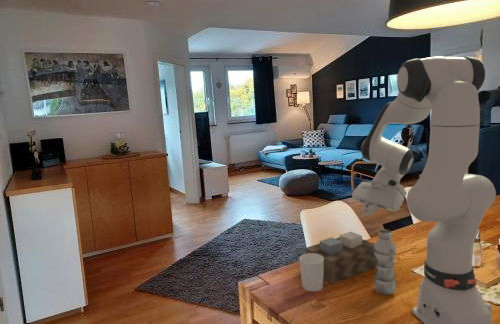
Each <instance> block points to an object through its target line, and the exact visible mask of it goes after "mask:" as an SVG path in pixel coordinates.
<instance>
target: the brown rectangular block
mask: <svg viewBox="0 0 500 324" xmlns="http://www.w3.org/2000/svg"><path fill="white" fill-rule="evenodd" d="M335 239H337V240H339V241H340V236H339V237H335ZM374 244H375V243H374V242H371V241H368V240H366V239H363V238H362V245H360V246H357V247H354V248H351V249H350V248H348V247H346V246H344V245H343V252H340V253H337V254H334V255H329V254H327V253H325V252H323V251H321V250H320V243H317V244H313V245H310V246H307V247H305V254H308V253H314V254H319V255H321V256H323V257H324V274H323V280H325V281H326V282H328V283H329V284H332V285H334V284H337V283H339V282H342V281H345V280H348V279H349V278H352V277H354V276H357V275H360V274H362V273H365V272H367V271H369V270H373V269H376V262H375V254H374Z"/></svg>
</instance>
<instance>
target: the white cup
mask: <svg viewBox="0 0 500 324" xmlns="http://www.w3.org/2000/svg"><path fill="white" fill-rule="evenodd" d="M299 268H300V278H301V285H302V289H304V290H305V291H308V292H318V291H321V290H322V289H323V287H324V279H323V274H324V257H323V256H321V255H319V254H314V253H308V254H306V253H304V254H302V255H300V256H299Z"/></svg>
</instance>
